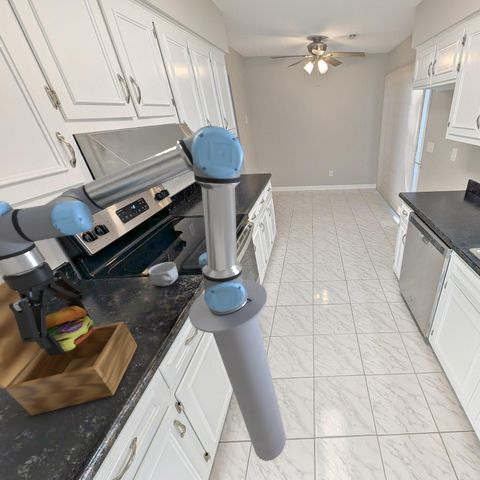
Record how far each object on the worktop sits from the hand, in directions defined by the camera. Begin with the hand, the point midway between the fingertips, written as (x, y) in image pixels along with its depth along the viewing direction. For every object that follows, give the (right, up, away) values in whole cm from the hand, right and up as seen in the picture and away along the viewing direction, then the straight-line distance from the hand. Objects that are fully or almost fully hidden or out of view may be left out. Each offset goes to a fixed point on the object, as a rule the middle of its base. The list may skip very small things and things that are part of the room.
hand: (72, 335), depth 69 cm
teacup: (-1, +6, +46) cm, 47 cm away
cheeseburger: (0, -1, 0) cm, 1 cm away
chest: (0, -14, +6) cm, 16 cm away
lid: (-11, +3, -6) cm, 13 cm away
